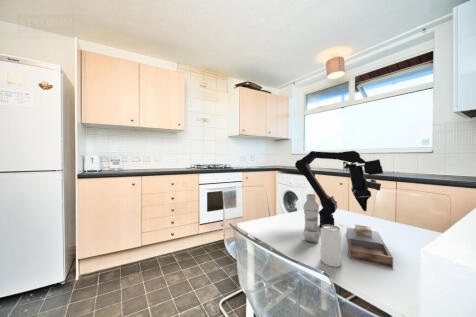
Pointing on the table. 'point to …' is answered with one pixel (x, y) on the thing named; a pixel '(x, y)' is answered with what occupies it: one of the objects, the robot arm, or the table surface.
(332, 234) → the can
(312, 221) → the plastic bottle
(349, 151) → the robot arm
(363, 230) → the tile
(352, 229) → the plate
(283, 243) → the table surface
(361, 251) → the box
